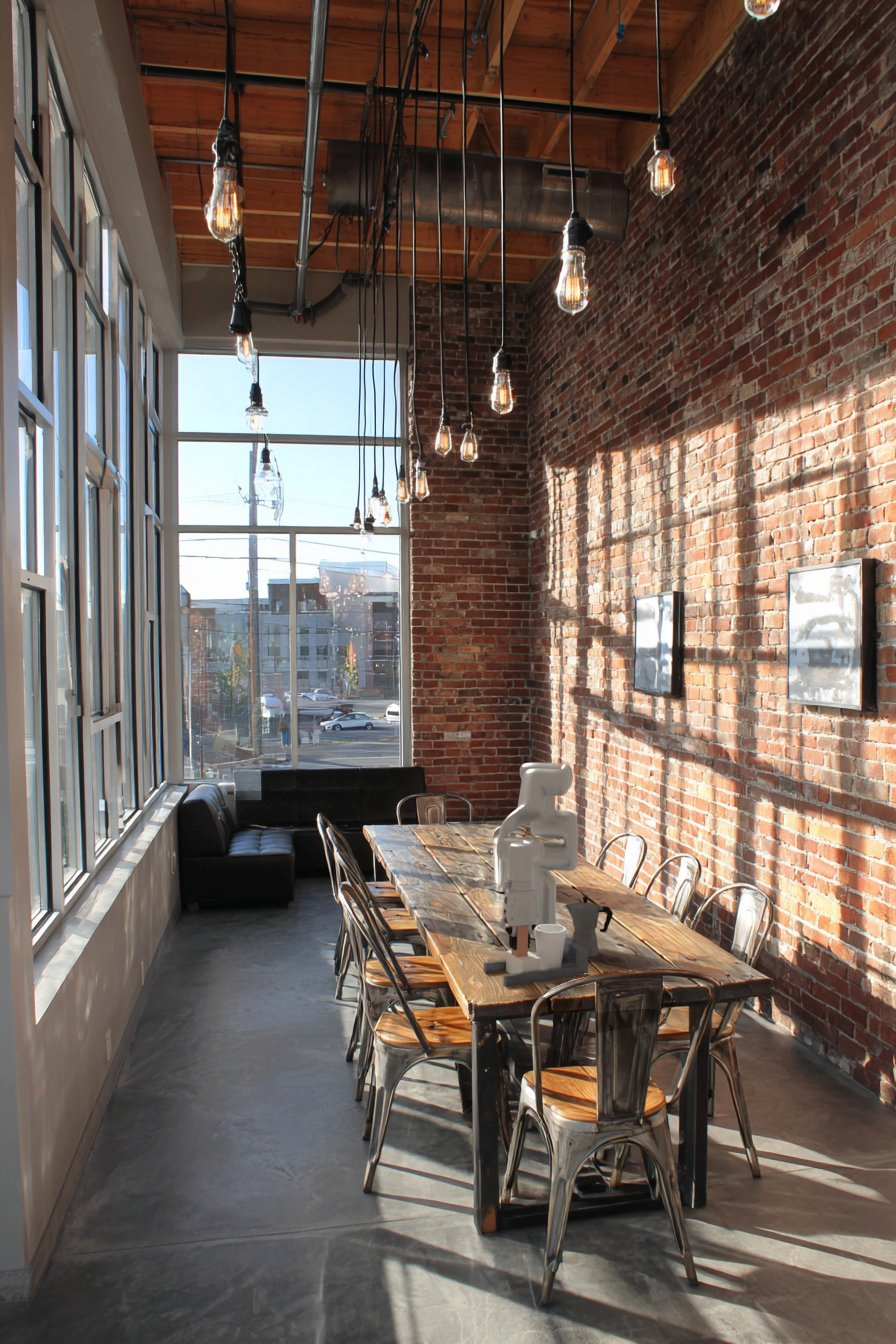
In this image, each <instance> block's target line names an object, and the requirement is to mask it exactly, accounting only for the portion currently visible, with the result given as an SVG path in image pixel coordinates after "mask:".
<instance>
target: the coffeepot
mask: <svg viewBox="0 0 896 1344" xmlns="http://www.w3.org/2000/svg"><path fill="white" fill-rule="evenodd" d="M588 899H589V897H588V896H582V900H583V901H582V902H574V903H568V904H565V905H564V907H565V908H566V909H567V911H568V913H569V914H570V917H571V919H572V925H573V929H574V930H573V933H572V938H571V939H573V940H575V941H577V942H579V943H581V944H583V945H585V946H587V947H588V958H595V957H597V956H599V954H600V951H599V946H598V937H597V933H596V928H597V927H598V921H599V914H600V913H606V914H607V915H606V917H605V922H604V924H603V928H599V931H600V932H601V933H607V932H608V928H609V926H610V923H611V920H612V918H613V914H614V912H613V911H612V909H611V908H610V907H609V906H607V905H598V904H596V903H592V902H588Z"/></svg>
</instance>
